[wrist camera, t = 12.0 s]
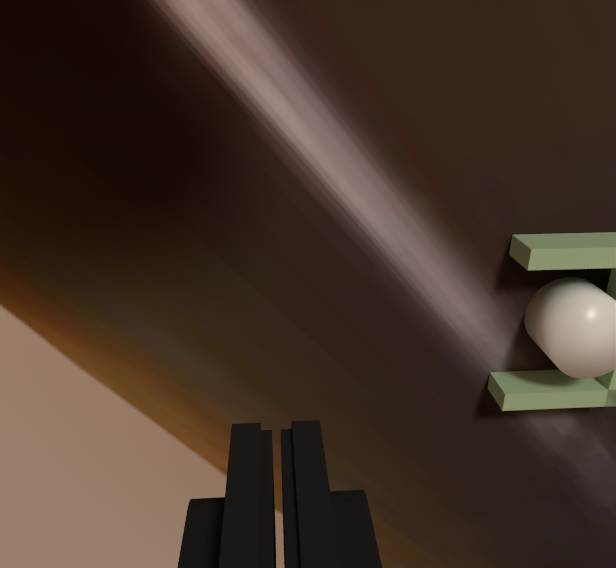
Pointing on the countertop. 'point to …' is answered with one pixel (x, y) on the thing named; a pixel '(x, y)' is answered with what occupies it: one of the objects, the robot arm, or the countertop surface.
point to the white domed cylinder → (574, 326)
